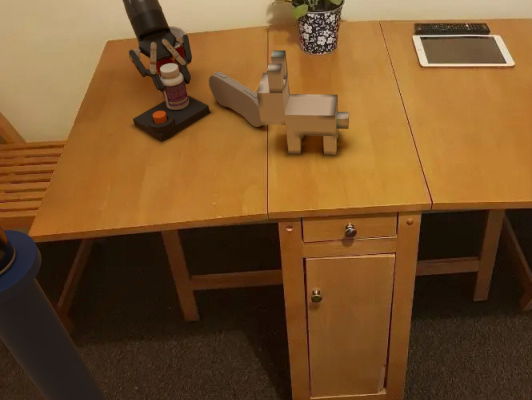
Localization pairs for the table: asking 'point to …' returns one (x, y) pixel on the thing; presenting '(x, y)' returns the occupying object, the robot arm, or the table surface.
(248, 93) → the game controller
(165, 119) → the button
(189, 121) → the scale
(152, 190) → the table surface
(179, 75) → the pill bottle
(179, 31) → the plastic cup
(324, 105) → the toy llama
